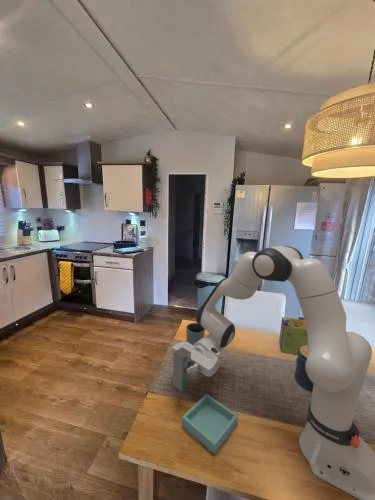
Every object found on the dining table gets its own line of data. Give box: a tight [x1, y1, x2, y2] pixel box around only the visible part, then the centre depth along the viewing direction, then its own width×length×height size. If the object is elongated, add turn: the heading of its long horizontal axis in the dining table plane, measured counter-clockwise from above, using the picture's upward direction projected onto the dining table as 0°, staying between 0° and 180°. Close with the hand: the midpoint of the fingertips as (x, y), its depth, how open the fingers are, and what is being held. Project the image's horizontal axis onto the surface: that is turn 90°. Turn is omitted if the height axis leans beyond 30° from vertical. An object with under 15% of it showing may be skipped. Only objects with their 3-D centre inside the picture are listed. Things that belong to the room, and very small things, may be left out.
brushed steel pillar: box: [172, 347, 192, 392], centre depth 89 cm, size 5×5×14 cm
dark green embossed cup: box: [185, 322, 206, 345], centre depth 126 cm, size 10×10×12 cm
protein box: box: [278, 316, 308, 356], centre depth 126 cm, size 10×15×16 cm
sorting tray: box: [181, 393, 239, 456], centre depth 82 cm, size 14×14×4 cm
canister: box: [294, 345, 314, 392], centre depth 103 cm, size 13×13×18 cm
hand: (180, 367), depth 88 cm, fingers closed on brushed steel pillar, 5 cm apart
